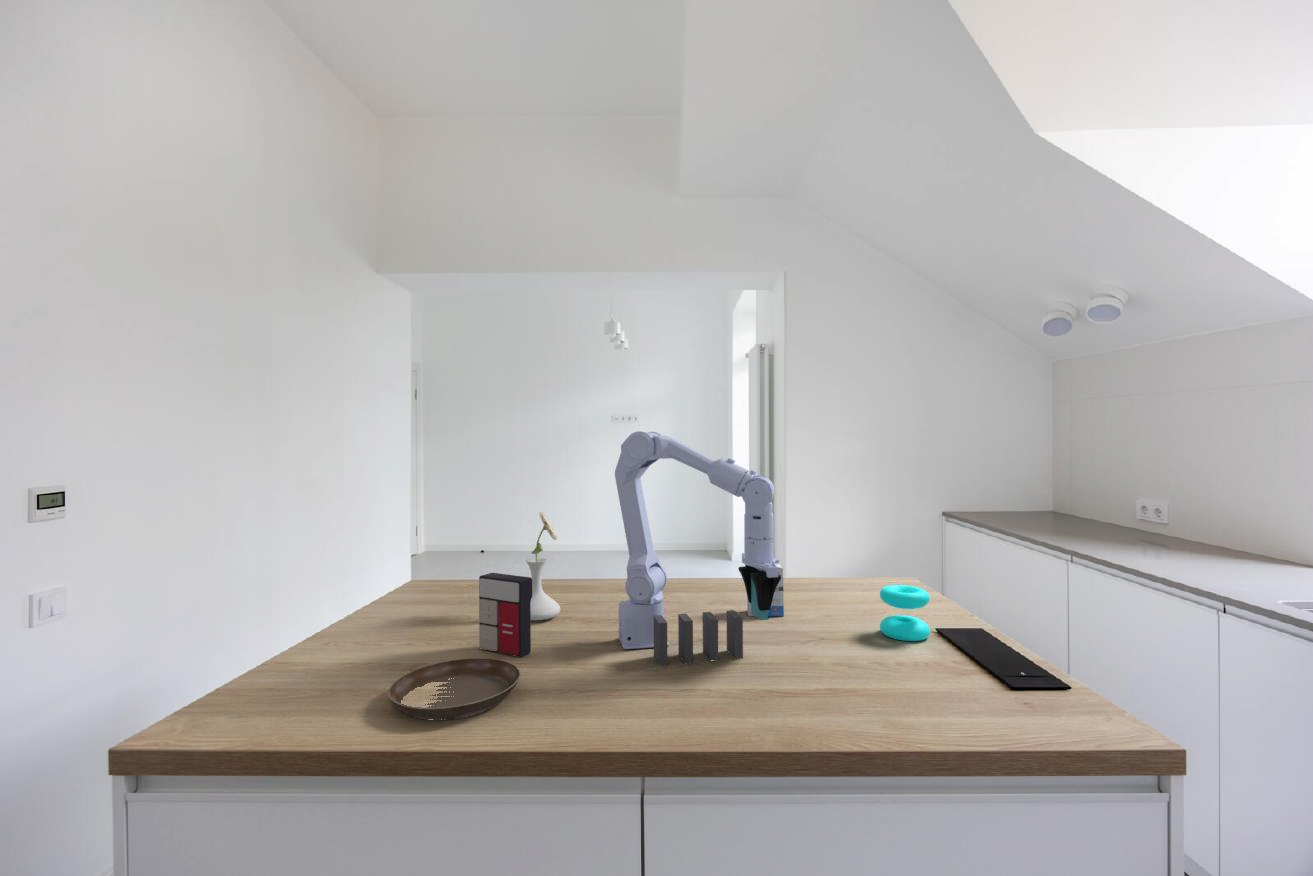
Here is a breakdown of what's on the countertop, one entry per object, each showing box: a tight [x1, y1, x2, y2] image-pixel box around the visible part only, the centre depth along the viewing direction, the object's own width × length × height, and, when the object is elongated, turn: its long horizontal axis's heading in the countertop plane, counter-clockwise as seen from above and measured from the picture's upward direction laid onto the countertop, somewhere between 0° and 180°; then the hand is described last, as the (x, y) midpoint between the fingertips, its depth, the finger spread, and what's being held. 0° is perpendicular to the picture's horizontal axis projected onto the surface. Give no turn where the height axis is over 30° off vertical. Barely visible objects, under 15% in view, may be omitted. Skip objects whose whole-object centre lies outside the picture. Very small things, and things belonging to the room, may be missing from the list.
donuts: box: [879, 584, 931, 642], centre depth 131 cm, size 10×10×10 cm
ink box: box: [746, 563, 785, 617], centre depth 148 cm, size 8×5×12 cm, turn 84°
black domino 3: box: [726, 609, 744, 660], centre depth 120 cm, size 2×5×8 cm, turn 12°
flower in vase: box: [525, 511, 561, 621], centre depth 147 cm, size 13×11×25 cm
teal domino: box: [751, 573, 769, 621], centre depth 121 cm, size 2×5×8 cm, turn 12°
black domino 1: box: [653, 615, 668, 666], centre depth 117 cm, size 2×5×8 cm, turn 12°
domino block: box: [702, 611, 719, 662], centre depth 119 cm, size 2×5×8 cm, turn 12°
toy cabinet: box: [478, 572, 532, 658], centre depth 123 cm, size 11×4×15 cm, turn 62°
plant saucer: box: [387, 657, 521, 721], centre depth 101 cm, size 21×21×3 cm
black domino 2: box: [677, 613, 694, 664], centre depth 118 cm, size 2×5×8 cm, turn 12°
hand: (759, 606), depth 121 cm, fingers closed on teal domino, 5 cm apart
